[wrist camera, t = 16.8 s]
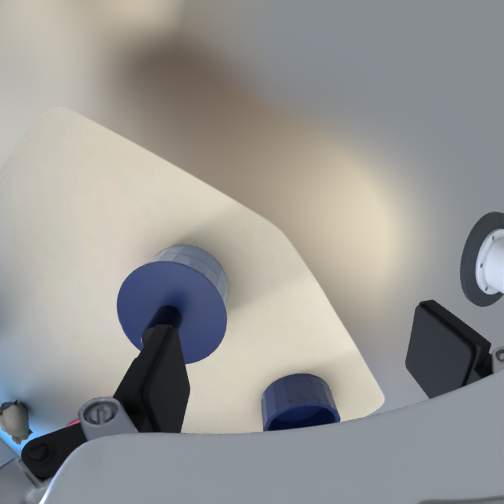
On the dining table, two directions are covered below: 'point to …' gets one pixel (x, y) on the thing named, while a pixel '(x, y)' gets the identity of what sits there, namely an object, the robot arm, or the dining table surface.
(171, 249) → the pot
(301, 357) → the dining table surface
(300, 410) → the blue cylindrical container
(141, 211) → the dining table surface
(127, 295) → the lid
